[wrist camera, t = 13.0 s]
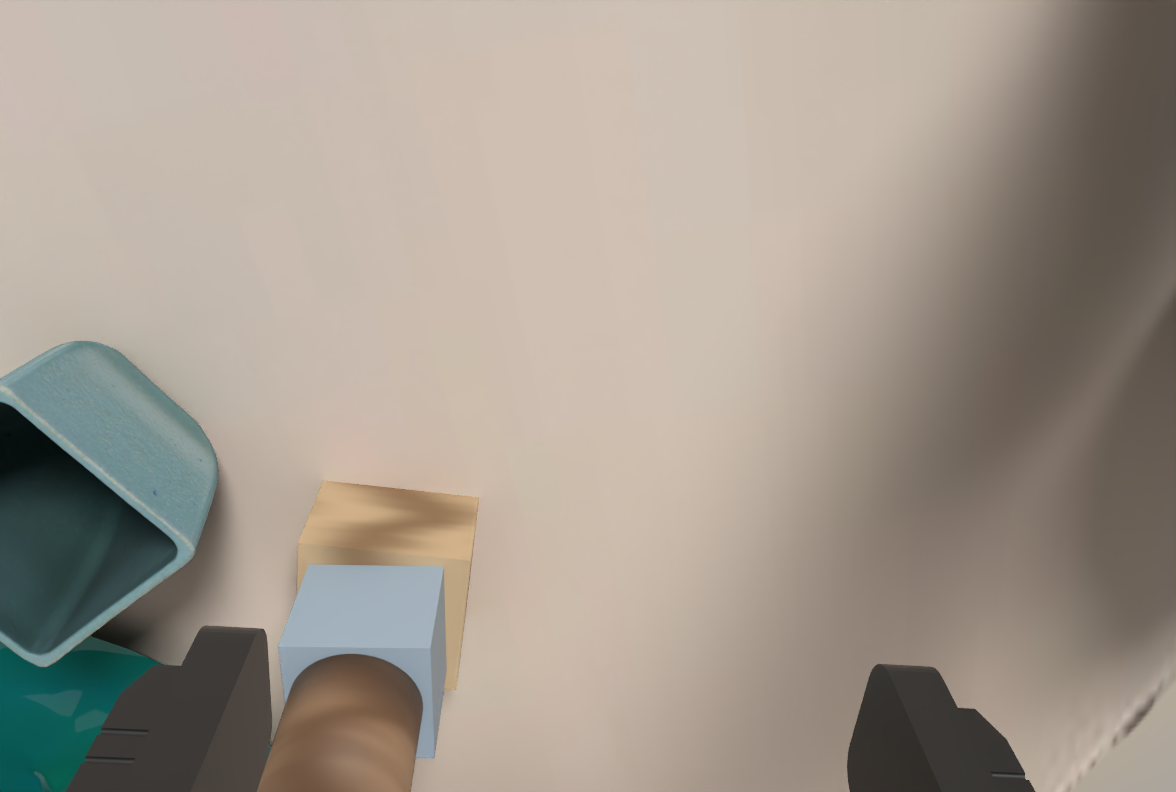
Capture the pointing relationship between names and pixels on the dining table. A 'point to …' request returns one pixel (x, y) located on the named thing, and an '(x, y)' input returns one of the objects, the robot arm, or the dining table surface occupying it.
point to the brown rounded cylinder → (346, 729)
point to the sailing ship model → (58, 711)
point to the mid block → (373, 627)
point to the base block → (397, 541)
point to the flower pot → (91, 495)
